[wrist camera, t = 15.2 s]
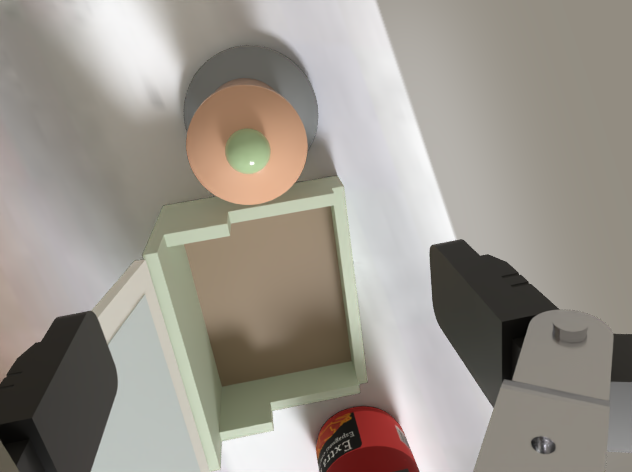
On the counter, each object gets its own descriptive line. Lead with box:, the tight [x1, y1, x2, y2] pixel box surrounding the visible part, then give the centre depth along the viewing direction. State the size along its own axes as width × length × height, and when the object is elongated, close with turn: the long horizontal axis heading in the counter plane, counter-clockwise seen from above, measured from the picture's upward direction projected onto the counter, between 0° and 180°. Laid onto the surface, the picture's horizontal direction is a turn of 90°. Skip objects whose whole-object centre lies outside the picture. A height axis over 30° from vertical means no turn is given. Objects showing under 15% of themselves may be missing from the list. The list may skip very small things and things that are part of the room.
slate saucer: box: [184, 45, 318, 151], centre depth 33 cm, size 8×8×1 cm
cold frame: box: [142, 176, 368, 472], centre depth 35 cm, size 12×16×8 cm
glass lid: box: [91, 260, 210, 472], centre depth 25 cm, size 12×16×1 cm
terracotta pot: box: [186, 78, 308, 205], centre depth 28 cm, size 6×6×9 cm
